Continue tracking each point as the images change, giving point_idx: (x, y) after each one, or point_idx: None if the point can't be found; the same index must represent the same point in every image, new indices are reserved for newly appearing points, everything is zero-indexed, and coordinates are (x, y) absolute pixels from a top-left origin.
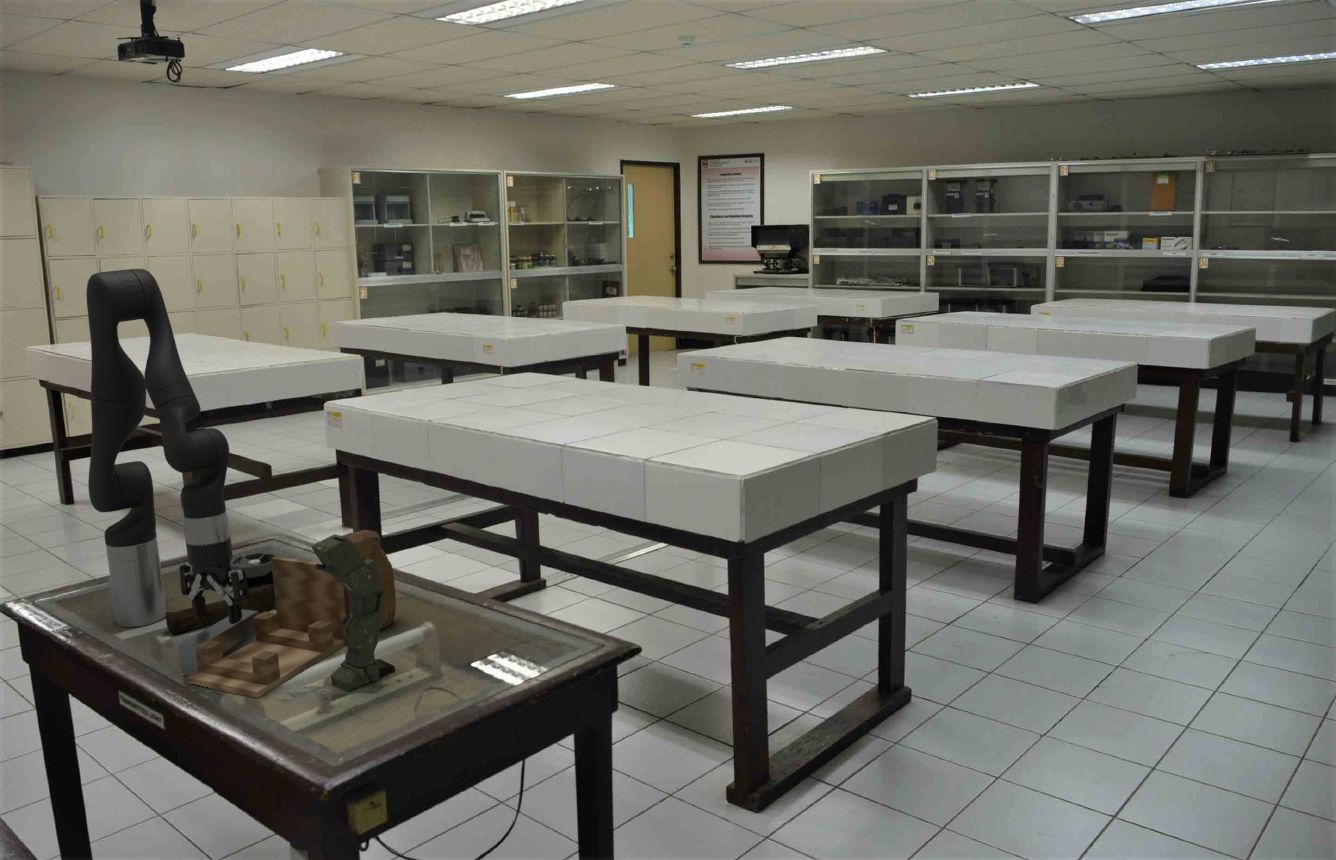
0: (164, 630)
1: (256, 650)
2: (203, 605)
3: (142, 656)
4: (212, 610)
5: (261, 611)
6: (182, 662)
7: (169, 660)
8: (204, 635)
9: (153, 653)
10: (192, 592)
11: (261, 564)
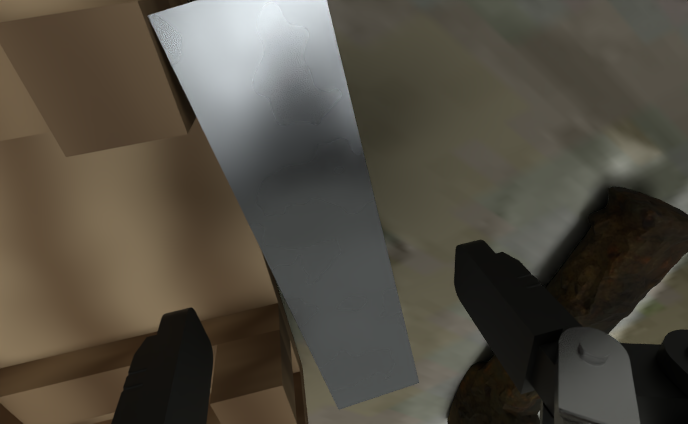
0: (662, 193)
1: (187, 267)
2: (488, 329)
3: (614, 15)
4: None
5: (465, 383)
6: None
7: (477, 51)
8: (305, 169)
9: (587, 60)
10: (608, 398)
11: None
